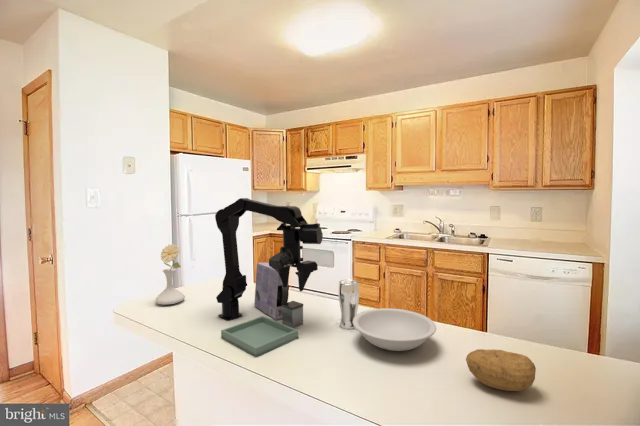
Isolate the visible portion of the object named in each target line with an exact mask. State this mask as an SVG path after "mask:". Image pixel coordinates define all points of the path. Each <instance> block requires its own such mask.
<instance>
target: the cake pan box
mask: <svg viewBox="0 0 640 426" xmlns="http://www.w3.org/2000/svg"><path fill="white" fill-rule="evenodd" d="M255 273H256V275H255V291H254V305H253V306H254V307H255V308H257V309H258V310H260V311H261V312H263V313H264V314H265V315H268V316H270V317H271V318H272V319H274V321H277V320H282V304H285V303H288V302H289V295H290V294H289V293H290V292H289V283H288V284H287V287H284V286H283V283H282V280H281V278H280V275H279V273H278V272H277V271H276V270H275V269H273V268H272V267H271V266H269V262H256V272H255Z"/></svg>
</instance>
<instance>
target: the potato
mask: <svg viewBox="0 0 640 426" xmlns="http://www.w3.org/2000/svg"><path fill="white" fill-rule="evenodd" d="M465 361H466V364H467V369H468V371H469V372H470V373H471V374H472V375H473V377H474V378H476V380H477V381H478V382H479V383H482V384H483V385H484V386H488V387H491V388H493V389H497V390H501V391H506V392H520V391H526V390H527V389H529V388H530V387H531V386H533V384H534V382H535V379H536V370H537V368H536V365H535V363H534V362H533V360H531V359H530V358H529V357H528V356H526V355H524V354H523V353H522V354H521V353H517V352H516V353H515V352H511V351H506V350H502V349H480V348H479V349H478V348H477V349H475V350H473V351H469V353H468V354H467V355H466V357H465Z"/></svg>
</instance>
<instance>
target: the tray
mask: <svg viewBox="0 0 640 426" xmlns="http://www.w3.org/2000/svg"><path fill="white" fill-rule="evenodd" d="M220 335H221V337H220V338H221V339H223V340H224V341H225V342H227V343H229V344H231V345H233V346H235V347H237V348H238V349H240V350H241V351H244V352H245V353H247V354H249V355H251V356H253V357H254V358H258V357H260V356H263V355H264V354H267V353H269V352H271V351H273V350H275V349H277V348H279V347H282V346H284V345H287V344H288V343H291V342H293V341H296V340H297V339H299V329H296V328H292V327H289V326H287V325H284V324H283V322H282V323H281V322H280V321H277V320H275V319H274V320H273V318H272V319H271V318H269V317H266V316H263V315H261V316H259V317H255V318H253V319H249V320H247V321H244V322H241V323H239V324H235V325H233V326H229V327H227V328H223V329H221V330H220Z"/></svg>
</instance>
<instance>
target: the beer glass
mask: <svg viewBox="0 0 640 426" xmlns="http://www.w3.org/2000/svg"><path fill="white" fill-rule="evenodd" d="M338 302H339V307H340V313H341V315H340V323H339V327H341V328H342V329H345V330H354V329H356V328H355V327H354V326H353V318H354V317H355V316H356V315H357V314H358V308H359V303H360V287H359V281H358V280H356V279H341V280H340V281H338Z"/></svg>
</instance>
